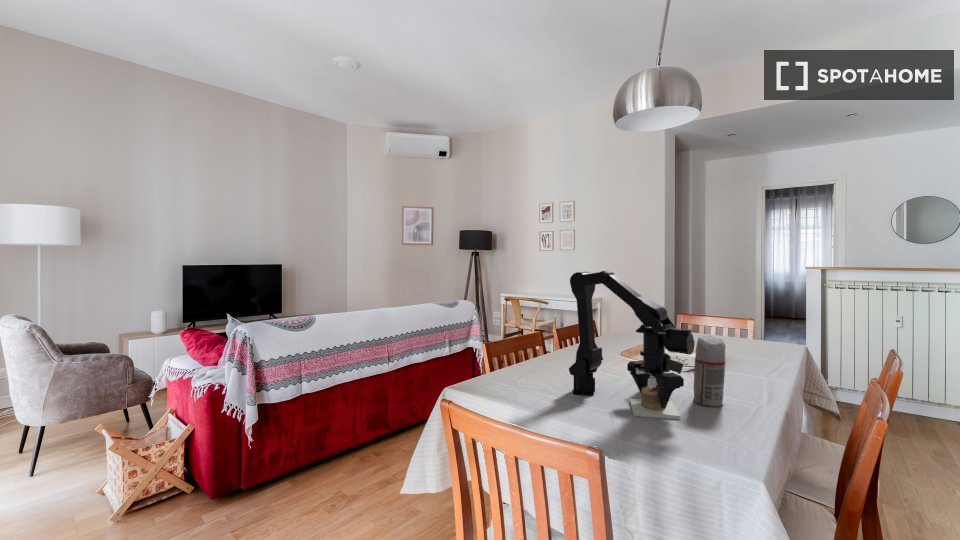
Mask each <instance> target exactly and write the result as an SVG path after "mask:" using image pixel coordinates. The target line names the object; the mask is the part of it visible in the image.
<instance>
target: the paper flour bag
mask: <svg viewBox="0 0 960 540" xmlns="http://www.w3.org/2000/svg"><path fill="white" fill-rule="evenodd" d="M693 369H694V370H693V371H694V372H693V373H694V374H693V401H694V402H695V403H697V404H699V405H701V406H702V405H703V406H706V407H721V406H723V405H724V404H723V401H724V387H725V386H724V385H725V375H726V374H725V372H726V343H725V341H724V339H722V338H716V337H714V336H712V335H704V336H699V337H697V342H696V345H695V357H694V367H693Z"/></svg>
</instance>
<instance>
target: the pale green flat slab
mask: <svg viewBox="0 0 960 540" xmlns="http://www.w3.org/2000/svg"><path fill="white" fill-rule="evenodd" d="M629 403H630V406H631V410H632V415H633V416H634V417H644V418H646V417H647V418H656V419H657V418H659V419H668V420H669V419H670V420H681V415H680V414H681V413H679V411H678V409H677V408H676V406H675V403H674V402H673V401H672V400H669V401H668V404H667V406H666V408H665V409H664V410H650V409H646V408H644V407H643V406H642V405H641V398H631V397H630V398H629Z"/></svg>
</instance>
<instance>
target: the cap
mask: <svg viewBox="0 0 960 540" xmlns="http://www.w3.org/2000/svg"><path fill="white" fill-rule="evenodd" d="M640 395H641V396H640V399H641V405H642V406H643V407H644V408H646V409H650V410H664V409H665V408H662V407H661V404H660V401H659V397H658V393H657V389H656V385H655V386H645V387H642V391H641V393H640Z"/></svg>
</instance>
